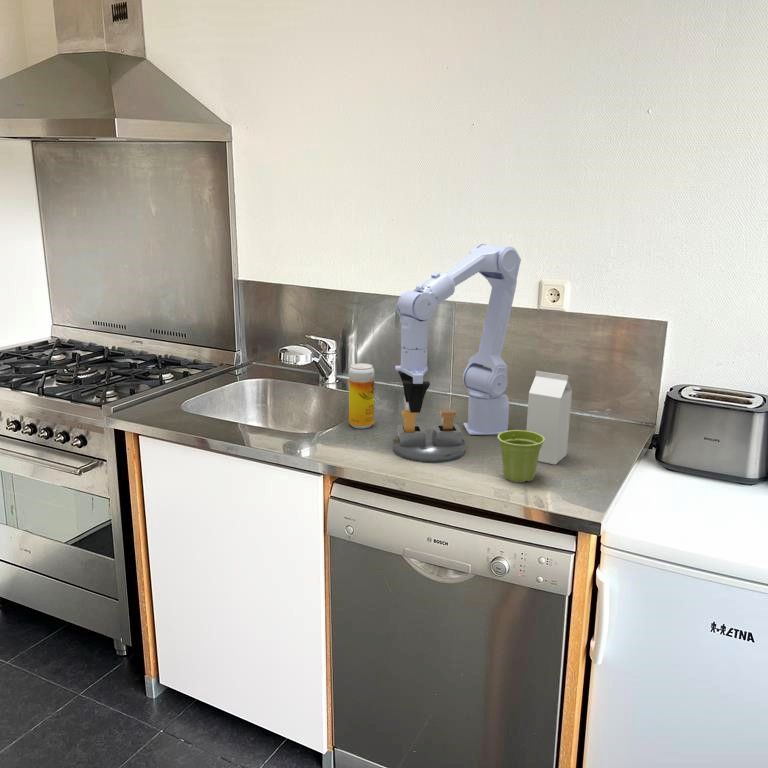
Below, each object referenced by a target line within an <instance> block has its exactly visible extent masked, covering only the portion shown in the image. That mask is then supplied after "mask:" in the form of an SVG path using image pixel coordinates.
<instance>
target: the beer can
mask: <svg viewBox="0 0 768 768" xmlns="http://www.w3.org/2000/svg"><path fill="white" fill-rule="evenodd" d="M348 423H349V425H350V426H351V427H352V428H354V429H361V430H362V429H369V428H371V427H373V426H372V425H374V423H375V369H374V366H373V364H370V363H365V362H364V363H359V362H358V363H354V364H350V368H349V370H348Z"/></svg>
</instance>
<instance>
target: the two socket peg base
mask: <svg viewBox="0 0 768 768" xmlns="http://www.w3.org/2000/svg"><path fill="white" fill-rule="evenodd" d="M456 413H457V412H456V410H455V409H439V416H440V417H441V423H439V424H432V429H425V428H424V425H423V424H415V431H411V432H404V424H398V425H397V435H396V436H394V438H393V440H392V451H393V452H394V454H395V455H397V456H398V457H399V458H402V459H404V460H408V461H411V462H418V463H427V464H429V463H430V464H435V463H445V462H446V463H447V462H451V461H452V462H453V461H455V460H458V459H461V457H462V456H464V455H465V452H466V451H465V449H466V447H465V446H466V441H465V440H464V438H463V437H462V436H463V432H462V430H461V428H460V426H459V424H457V423H454V418H455V417H457V416H456V415H457V414H456Z"/></svg>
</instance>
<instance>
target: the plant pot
mask: <svg viewBox="0 0 768 768" xmlns="http://www.w3.org/2000/svg"><path fill="white" fill-rule="evenodd" d="M497 440H498V441H499V446H500V447H501V450H500V451H501V458H502V468H503V469H502V471H503V477H504V478H506V479H507V480H508V481H510V482H513V483H523V482H526V481H527V482H532V481H533V480H534V479H535V475H536V470H537V466H538V465H537V464H538V462H539V461H538V456H539V451H540V449H541V447H542V444H543V443H544V441H545V438H544V437H543V436H542V435H540V434H538V433H535V432H531V431H526V430H525V429H524V430H521V429H512V430H508V431H504V432H502V433H500V434H497Z"/></svg>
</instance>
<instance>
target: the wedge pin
mask: <svg viewBox="0 0 768 768" xmlns="http://www.w3.org/2000/svg"><path fill="white" fill-rule="evenodd" d="M401 417H402V418H403V425H404V432H411V431H415V425H416V418H418V413H411V412H410V409H405V410H403V409H402V410H401Z"/></svg>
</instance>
